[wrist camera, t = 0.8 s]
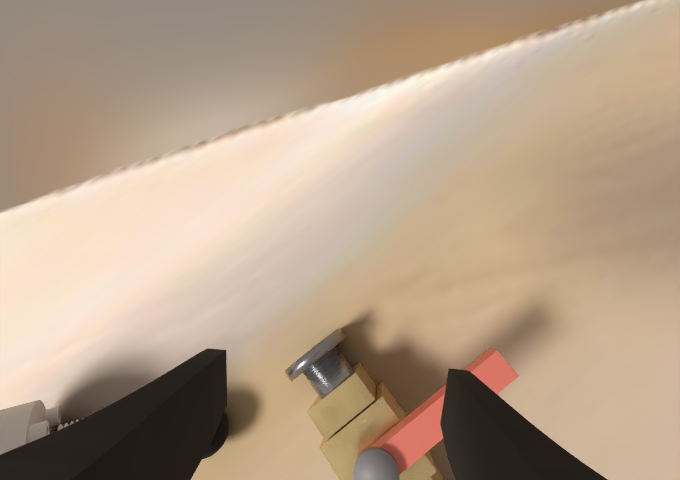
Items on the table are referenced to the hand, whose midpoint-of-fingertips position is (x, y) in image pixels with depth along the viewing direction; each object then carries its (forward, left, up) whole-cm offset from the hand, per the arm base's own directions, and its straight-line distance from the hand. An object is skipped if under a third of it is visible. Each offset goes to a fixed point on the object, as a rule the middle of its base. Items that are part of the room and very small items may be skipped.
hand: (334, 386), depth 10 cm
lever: (-7, -1, -15) cm, 16 cm away
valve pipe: (-7, +4, -21) cm, 23 cm away
